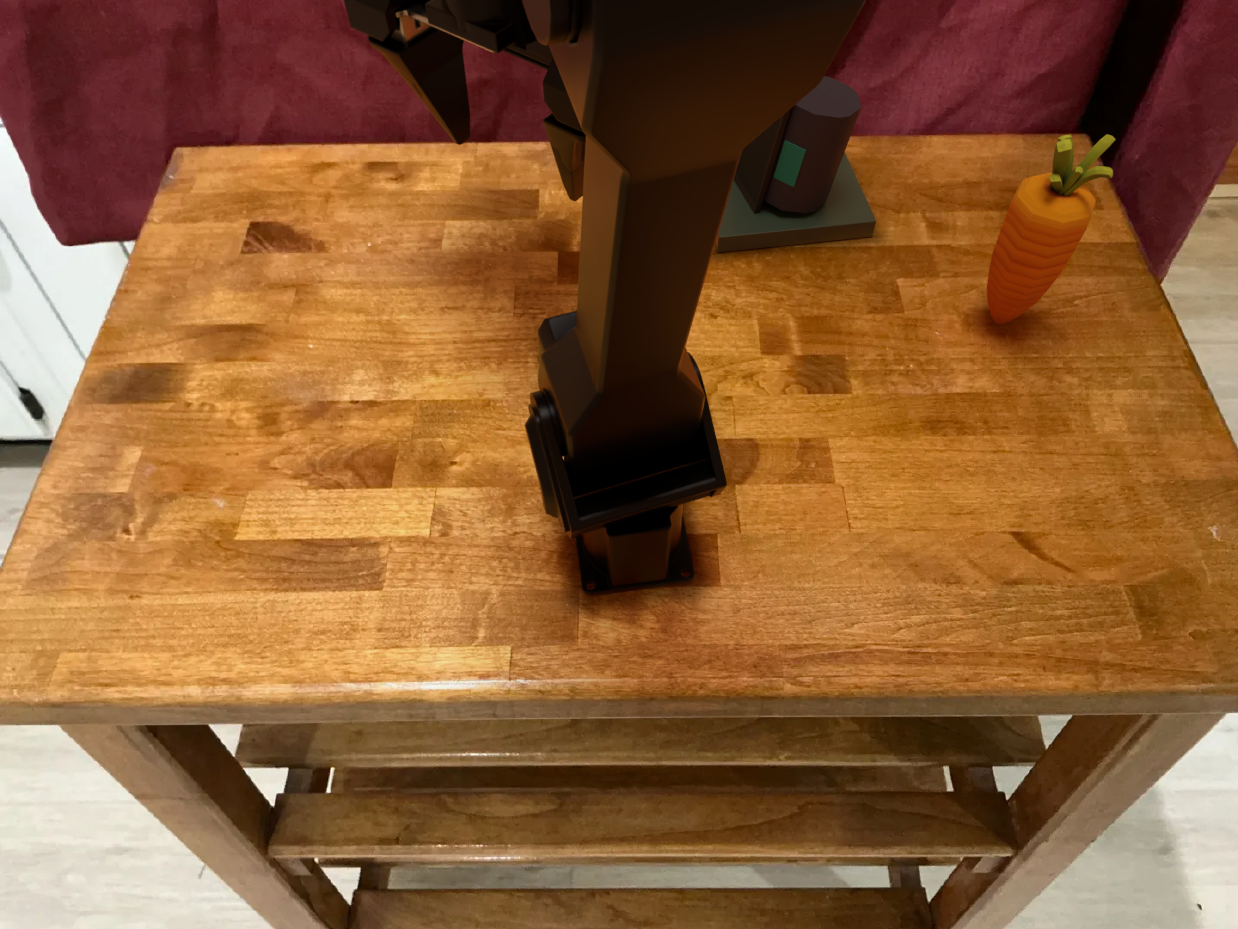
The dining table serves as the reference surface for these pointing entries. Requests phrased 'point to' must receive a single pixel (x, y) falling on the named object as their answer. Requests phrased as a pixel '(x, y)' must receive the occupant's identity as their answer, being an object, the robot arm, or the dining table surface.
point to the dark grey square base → (798, 218)
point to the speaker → (800, 151)
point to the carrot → (1042, 230)
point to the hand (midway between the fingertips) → (518, 167)
